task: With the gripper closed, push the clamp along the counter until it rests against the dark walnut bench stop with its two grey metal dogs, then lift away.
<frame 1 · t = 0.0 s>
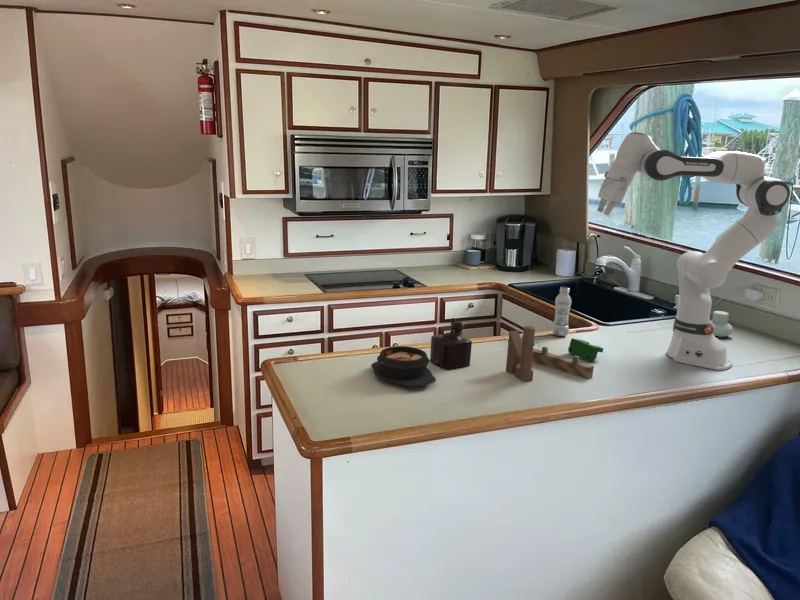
hand: (602, 213, 227), 52 cm above the counter, tool tilted 20°, fingers open, 8 cm apart
wooden letter n: (518, 376, 210), on the counter
bench stop: (558, 368, 219), on the counter
coffee grinder: (453, 367, 217), on the counter
plastic bottle: (559, 336, 257), on the counter
diorama: (521, 343, 246), on the counter
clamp: (585, 357, 232), on the counter
air freshener: (717, 335, 267), on the counter
casserole: (402, 378, 205), on the counter
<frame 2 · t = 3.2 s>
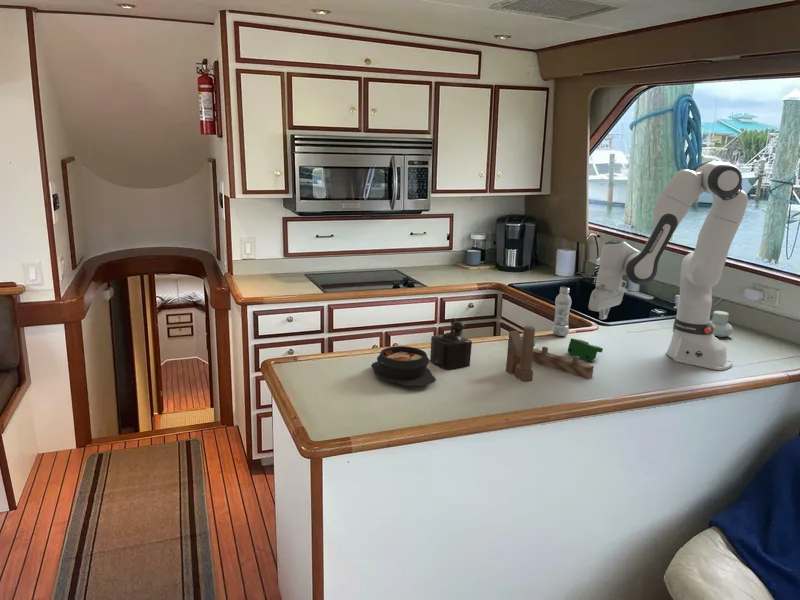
hand: (602, 318, 238), 12 cm above the counter, tool pointing down, fingers closed
nothing on the counter moved.
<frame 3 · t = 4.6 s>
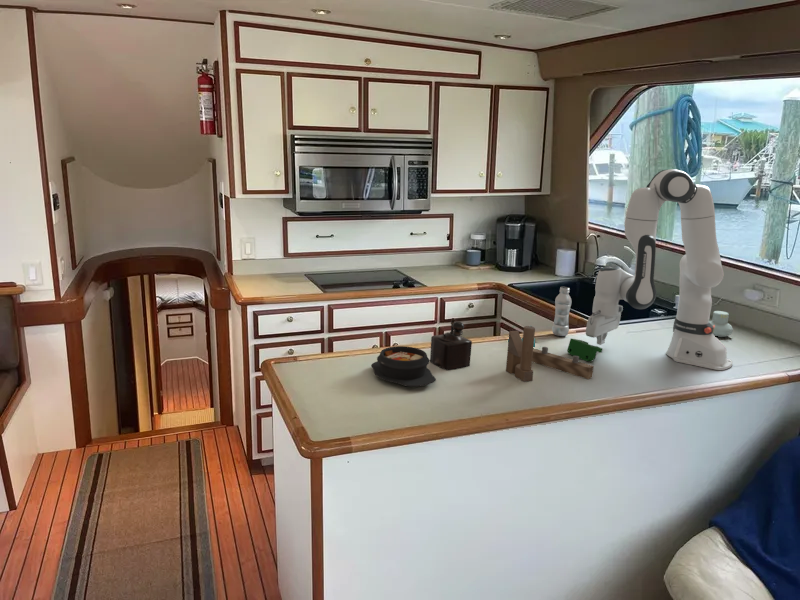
hand: (600, 343, 240), 3 cm above the counter, tool pointing down, fingers closed
nothing on the counter moved.
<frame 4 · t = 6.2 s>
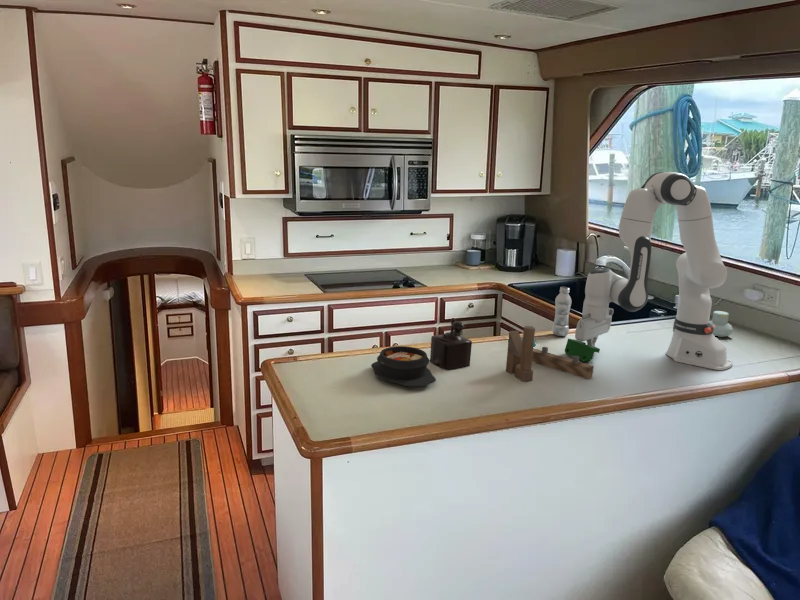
hand: (590, 347, 234), 3 cm above the counter, tool pointing down, fingers closed
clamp: (581, 358, 231), on the counter, touching gripper
everything else where it was.
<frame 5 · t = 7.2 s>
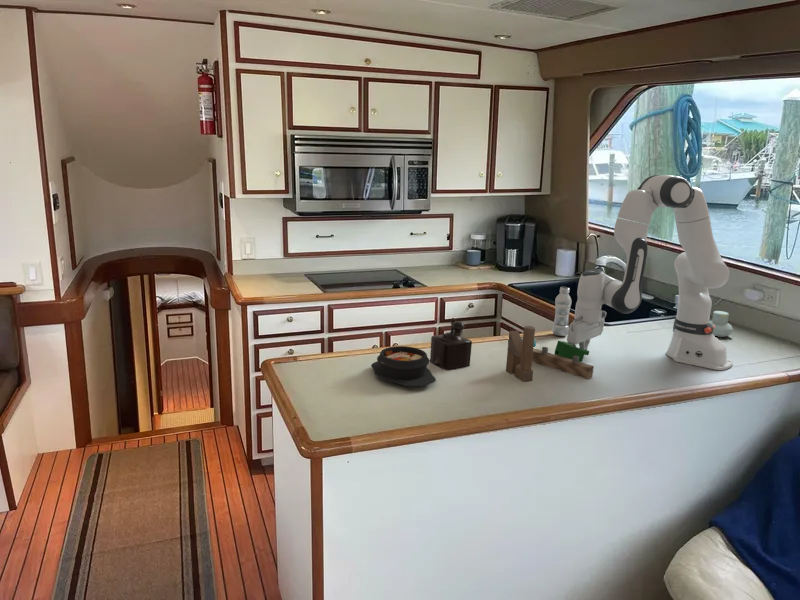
hand: (583, 350, 230), 3 cm above the counter, tool pointing down, fingers closed
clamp: (571, 360, 228), on the counter, touching gripper
everything else where it was.
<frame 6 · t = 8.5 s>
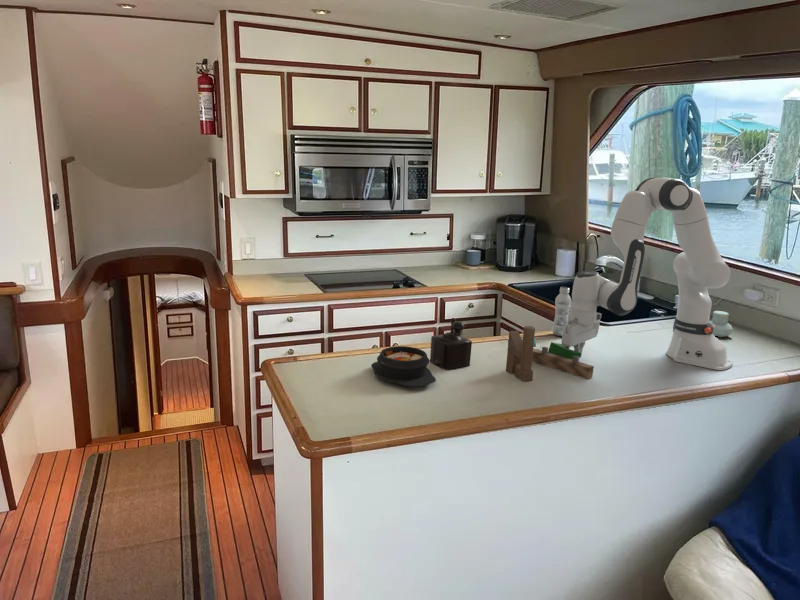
hand: (577, 353, 227), 3 cm above the counter, tool pointing down, fingers closed
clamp: (563, 362, 226), on the counter, touching gripper
everything else where it was.
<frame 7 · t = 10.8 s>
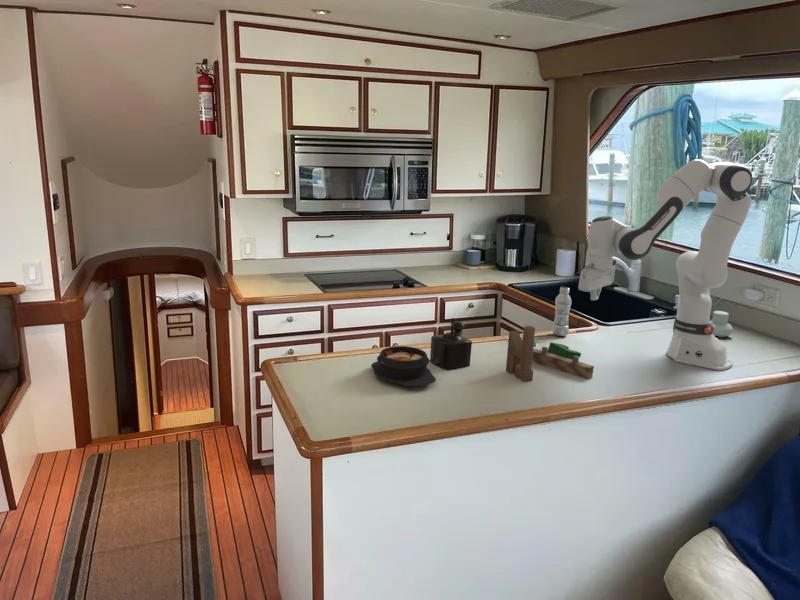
hand: (594, 299, 229), 21 cm above the counter, tool pointing down, fingers closed
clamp: (563, 362, 226), on the counter
everything else where it was.
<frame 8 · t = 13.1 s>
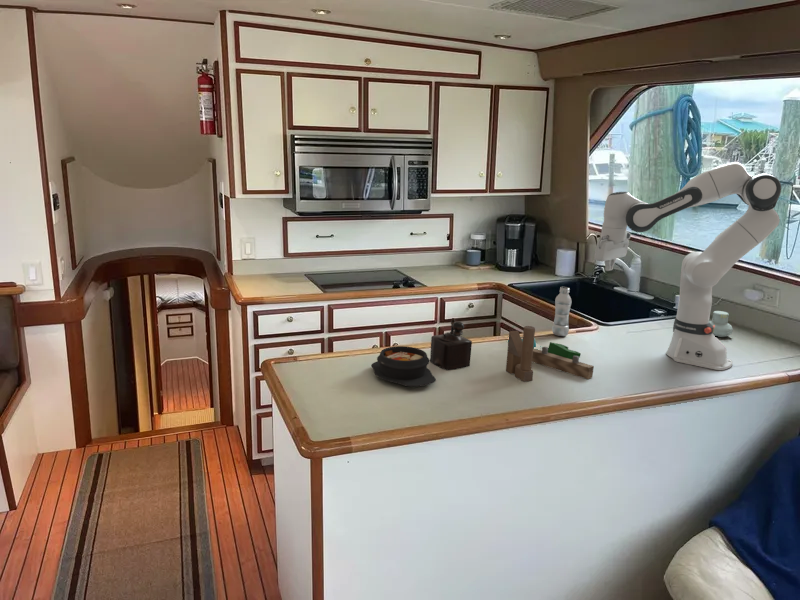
hand: (608, 270, 243), 29 cm above the counter, tool pointing down, fingers closed
at the end: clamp inside the target area (2.7 cm from its centre), on the counter; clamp moved 11.7 cm from its start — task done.
